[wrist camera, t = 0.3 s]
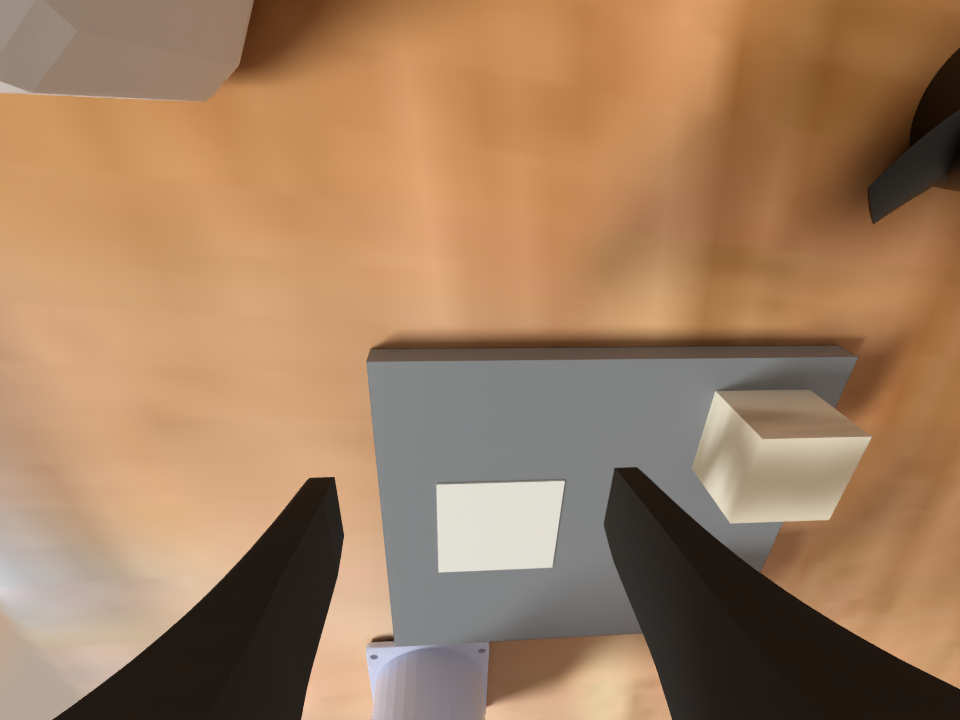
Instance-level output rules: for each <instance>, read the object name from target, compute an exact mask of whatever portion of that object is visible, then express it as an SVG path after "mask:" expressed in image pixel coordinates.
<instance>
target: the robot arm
mask: <svg viewBox="0 0 960 720" xmlns="http://www.w3.org/2000/svg"><path fill="white" fill-rule="evenodd" d="M603 525H604V529H605V532H606V536H607V540H608V544H609V547H610V551H611V554H612V558H613V561H614V564H615V567H616V569H617V572H618V574H619V577H620V579H621V582H622V584H623V587H624V589H625V592H626V594H627V596H628V599H629V601H630V604H631V606H632V608H633V611H634V613H635V616H636V618H637V621H638V623H639V625H640V628H641V630H642V633H643V635H644V638H645V640H646V642H647V645H648V647H649V650H650V652H651V655H652V658H653V661H654V663H655V666H656V669H657V672H658V675H659V678H660V682H661V685H662V688H663V691H664V694H665V698H666V701H667V704H668V707H669V711H670V714H671V717H672V720H960V689H958V688H956V687H954V686H952V685H950V684H948V683H946V682H944V681H942V680H940V679H938V678H936V677H934V676H932V675H930V674H928V673H926V672H924V671H922V670H920V669H918V668H916V667H914V666H912V665H910V664H908V663H906V662H904V661H902V660H900V659H899V658H897V657H895V656H893V655H891V654H889V653H888V652H886V651H884V650H882V649H880V648H879V647H877V646H875V645H873V644H871V643H870V642H868V641H866V640H864V639H862V638H861V637H859V636H857V635H855V634H854V633H852V632H850V631H849V630H847V629H845V628H843V627H842V626H840V625H838V624H837V623H835V622H833V621H832V620H830V619H829V618H827V617H825V616H824V615H822V614H821V613H819V612H817V611H816V610H814V609H813V608H811V607H810V606H808V605H806V604H805V603H803V602H802V601H800V600H799V599H797V598H796V597H794V596H793V595H791V594H790V593H788V592H787V591H785V590H784V589H782V588H781V587H779V586H778V585H777V584H775V583H774V582H772V581H771V580H770V579H768V578H767V577H765V576H764V575H763V574H761V573H760V572H758V571H757V570H756V569H754V568H753V567H752V566H750V565H749V564H748V563H746V562H745V561H744V560H742V559H741V558H740V557H738V556H737V555H736V554H735V553H734V552H732V551H731V550H730V549H729V548H727V547H726V546H725V545H724V544H722V543H721V542H720V541H719V540H717V539H716V538H715V537H714V536H713V535H711V534H710V533H709V532H708V531H707V530H706V529H704V528H703V527H702V526H701V525H700V524H699V523H698V522H696V521H695V520H694V519H693V518H692V517H691V516H690V515H689V514H687V513H686V512H685V511H684V510H683V509H682V508H681V507H680V506H679V505H678V504H676V503H675V502H674V501H673V500H672V499H671V498H670V497H669V496H668V495H667V494H666V493H665V492H664V491H662V490H661V489H660V488H659V487H658V486H657V485H656V484H655V483H654V482H653V481H652V480H651V479H650V478H649V477H648V476H647V475H645V474H644V473H643V472H642V471H641V470H640V469H639V468H638V467H625V468H614V473H613V478H612V483H611V488H610V494H609V499H608V504H607V509H606V514H605V519H604V524H603ZM343 539H344V532H343V526H342V520H341V514H340V508H339V502H338V496H337V490H336V484H335V477H323V478H309V479H308V480H307V481H306V482H305V483H304V485H303V486H302V487H301V488H300V490H299V491H298V492H297V494H296V495H295V496H294V497H293V499H292V500H291V501H290V502H289V504H288V505H287V506H286V507H285V509H284V510H283V511H282V512H281V514H280V515H279V516H278V517H277V519H276V520H275V521H274V522H273V523H272V525H271V526H270V527H269V528H268V529H267V530H266V532H265V533H264V534H263V535H262V536H261V537H260V539H259V540H258V541H257V542H256V543H255V544H254V546H253V547H252V548H251V549H250V550H249V551H248V552H247V553H246V554H245V555H244V556H243V558H242V559H241V560H240V561H239V562H238V563H237V564H236V565H235V566H234V567H233V568H232V569H231V570H230V571H229V573H228V574H227V575H226V576H225V577H224V578H223V579H222V580H221V581H220V582H219V583H218V584H217V585H216V586H215V587H214V588H213V589H212V590H211V591H210V592H209V593H208V594H207V595H206V596H205V597H204V598H203V599H202V600H201V601H200V602H199V603H197V604H196V605H195V606H194V607H193V608H192V609H191V610H190V611H189V612H188V613H187V614H186V615H185V616H183V617H182V618H181V619H180V620H179V621H178V622H177V623H176V624H174V625H173V626H172V627H171V628H170V629H169V630H168V631H166V632H165V633H164V634H163V635H162V636H161V637H159V638H158V639H157V640H156V641H155V642H154V643H152V644H151V645H150V646H149V647H148V648H146V649H145V650H144V651H143V652H142V653H140V654H139V655H138V656H137V657H136V658H134V659H133V660H132V661H131V662H130V663H128V664H127V665H126V666H124V667H123V668H122V669H121V670H119V671H118V672H117V673H115V674H114V675H113V676H111V677H110V678H109V679H107V680H106V681H105V682H103V683H102V684H101V685H100V686H98V687H97V688H96V689H94V690H93V691H92V692H90V693H89V694H88V695H86V696H85V697H83V698H82V699H81V700H79V701H78V702H77V703H75V704H74V705H73V706H71V707H70V708H68V709H67V710H66V711H64V712H63V713H61V714H60V715H59V716H57V717H56V718H54V719H53V720H301V717H302V712H303V706H304V701H305V696H306V691H307V686H308V682H309V678H310V674H311V670H312V666H313V663H314V659H315V655H316V652H317V648H318V645H319V641H320V638H321V634H322V630H323V627H324V623H325V620H326V616H327V613H328V609H329V605H330V602H331V598H332V595H333V591H334V587H335V584H336V580H337V576H338V571H339V565H340V559H341V552H342V545H343ZM489 646H490V645H489V642H474V643H456V644H438V645H419V646H401V647H395V643H394V641H387V642H372V643H369V644H368V645H367V647H366V657H367V664H368V671H369V677H370V684H371V691H372V697H373V711H372V720H485V714H486V697H487V680H488V663H489Z"/></svg>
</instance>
